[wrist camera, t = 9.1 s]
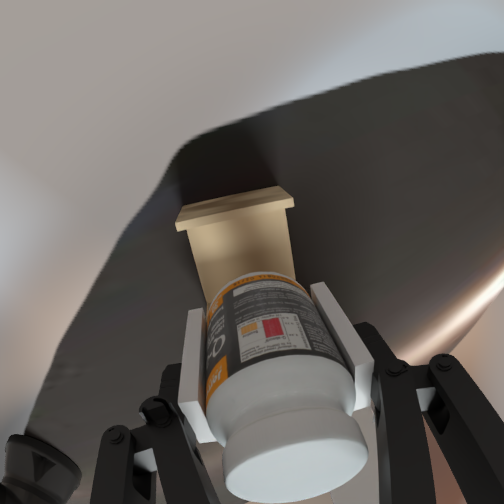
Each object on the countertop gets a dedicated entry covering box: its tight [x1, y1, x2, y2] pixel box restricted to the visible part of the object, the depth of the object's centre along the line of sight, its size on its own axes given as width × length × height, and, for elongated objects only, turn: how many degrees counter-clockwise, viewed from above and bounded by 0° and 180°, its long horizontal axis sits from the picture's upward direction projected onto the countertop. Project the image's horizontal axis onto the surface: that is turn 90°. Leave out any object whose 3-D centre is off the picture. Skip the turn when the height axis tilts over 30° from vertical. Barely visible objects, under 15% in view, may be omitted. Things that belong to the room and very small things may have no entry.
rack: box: [175, 186, 296, 321], centre depth 27 cm, size 8×18×5 cm, turn 10°
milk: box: [330, 406, 379, 504], centre depth 24 cm, size 6×6×22 cm
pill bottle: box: [206, 272, 369, 503], centre depth 13 cm, size 6×6×10 cm
